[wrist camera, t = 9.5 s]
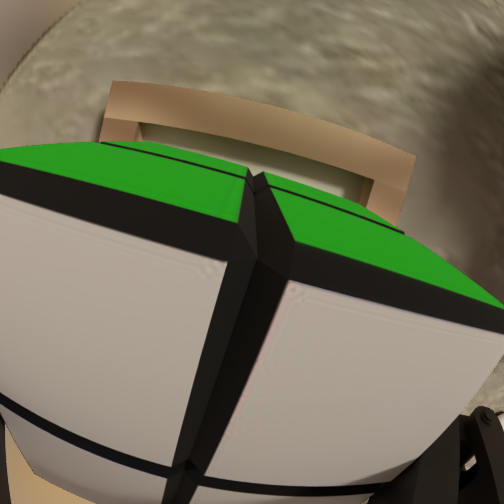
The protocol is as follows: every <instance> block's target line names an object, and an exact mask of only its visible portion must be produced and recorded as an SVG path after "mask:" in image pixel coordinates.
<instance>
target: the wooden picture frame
mask: <svg viewBox="0 0 504 504" xmlns="http://www.w3.org/2000/svg"><path fill="white" fill-rule="evenodd" d="M101 141H146V142H153V143H158V144H162V145H166V146H171V147H175V148H179V149H183V150H187V151H191V152H195V153H199V154H203V155H207V156H210V157H214V158H218V159H221V160H225V161H229V162H232V163H236V164H239V165H243V166H246V167H248V168H249V170H250V171H251V173H252V175H253V176H255V175H257V174H259V173H261V172H263V171H264V172H268V173H271V174H274V175H277V176H280V177H283V178H287V179H290V180H293V181H296V182H299V183H302V184H305V185H308V186H311V187H314V188H316V189H319V190H322V191H325V192H328V193H331V194H334V195H336V196H339V197H342V198H345V199H347V200H350V201H353V202H355V203H358V204H360V205H362V206H363V207H365V208H367V209H368V210H370V211H371V212H373V213H375V214H376V215H378V216H380V217H381V218H383V219H384V220H386V221H387V222H389V223H391V224H392V225H394V226H396V223H397V220H398V217H399V214H400V211H401V208H402V205H403V202H404V199H405V195H406V192H407V189H408V185H409V182H410V179H411V175H412V171H413V168H414V164H415V160H416V157H417V156H414V155H412V154H410V153H408V152H405V151H403V150H401V149H399V148H396V147H394V146H392V145H389V144H387V143H384V142H382V141H379V140H377V139H374V138H372V137H369V136H367V135H364V134H361V133H359V132H356V131H353V130H350V129H348V128H345V127H342V126H339V125H336V124H333V123H330V122H327V121H324V120H321V119H318V118H315V117H311V116H308V115H305V114H301V113H298V112H294V111H291V110H287V109H284V108H280V107H276V106H272V105H268V104H264V103H260V102H256V101H252V100H247V99H243V98H238V97H233V96H228V95H223V94H218V93H213V92H207V91H201V90H195V89H189V88H182V87H175V86H167V85H159V84H150V83H139V82H126V81H113V82H112V85H111V89H110V93H109V97H108V101H107V105H106V110H105V114H104V119H103V124H102V128H101V134H100V139H99V143H100V142H101Z"/></svg>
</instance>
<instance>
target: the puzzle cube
mask: <svg viewBox="0 0 504 504" xmlns="http://www.w3.org/2000/svg"><path fill="white" fill-rule="evenodd" d="M503 355H504V305H503V304H502V303H501V302H499V301H498V300H497V299H496V298H494V297H493V296H492V295H491V294H489V293H488V292H487V291H486V290H484V289H483V288H482V287H480V286H479V285H478V284H476V283H475V282H474V281H473V280H471V279H470V278H469V277H467V276H466V275H465V274H463V273H462V272H460V271H459V270H458V269H456V268H455V267H454V266H452V265H451V264H449V263H448V262H447V261H445V260H444V259H442V258H441V257H439V256H438V255H437V254H435V253H434V252H432V251H431V250H429V249H428V248H426V247H425V246H423V245H422V244H420V243H419V242H417V241H416V240H414V239H413V238H411V237H408V236H406V235H404V232H403V231H402V230H400V229H398V228H397V227H395V226H394V225H392V224H391V223H389V222H387V221H386V220H384V219H383V218H381V217H380V216H378V215H376V214H375V213H373V212H371V211H370V210H368V209H367V208H365V207H363V206H362V205H360V204H358V203H355V202H353V201H350V200H347V199H345V198H342V197H339V196H336V195H334V194H331V193H328V192H325V191H322V190H319V189H316V188H314V187H311V186H308V185H305V184H302V183H299V182H296V181H293V180H290V179H287V178H283V177H280V176H277V175H274V174H271V173H268V172H264V171H263V172H261V173H259V174H257V175H255V176H253V175H252V173H251V171H250V170H249V168H248V167H246V166H243V165H239V164H236V163H232V162H229V161H225V160H221V159H218V158H214V157H210V156H207V155H203V154H199V153H195V152H191V151H187V150H183V149H179V148H175V147H171V146H166V145H162V144H158V143H153V142H146V141H101V142H100V143H95V142H74V143H57V144H43V145H32V146H22V147H14V148H5V149H0V414H1V416H2V418H3V420H4V422H5V424H6V426H7V428H8V429H9V432H10V433H11V435H12V437H13V439H14V441H15V443H16V444H17V446H18V448H19V450H20V451H21V453H22V455H23V456H24V458H25V460H26V461H27V463H28V465H29V466H30V467H31V469H32V471H33V472H34V474H36V475H37V476H39V477H41V478H43V479H45V480H46V481H48V482H50V483H52V484H54V485H56V486H58V487H60V488H62V489H64V490H66V491H68V492H71V493H73V494H75V495H77V496H79V497H82V498H84V499H86V500H89V501H91V502H94V503H96V504H361V503H362V502H364V501H365V500H367V499H368V498H369V497H371V496H372V495H373V494H375V493H376V491H377V490H378V488H379V487H380V485H381V484H382V482H389V481H391V480H393V479H394V478H395V477H396V476H397V475H399V474H400V473H401V472H402V471H403V470H404V469H406V468H407V467H408V466H409V465H410V464H411V463H412V462H413V461H415V460H416V459H417V458H418V457H419V456H420V455H421V454H422V453H423V452H424V451H425V450H426V449H427V448H428V447H429V446H430V445H431V444H432V443H433V442H434V441H435V440H436V439H437V438H438V437H439V436H440V435H441V434H442V433H443V432H444V431H445V430H446V429H447V428H448V426H449V425H450V424H451V423H452V422H453V421H454V420H455V419H456V417H457V416H458V415H459V414H460V413H461V412H462V410H463V409H464V408H465V407H466V406H467V404H468V403H469V402H470V401H471V399H472V398H473V397H474V396H475V394H476V393H477V392H478V390H479V389H480V388H481V386H482V385H483V384H484V382H485V381H486V380H487V378H488V377H489V375H490V374H491V373H492V371H493V370H494V368H495V367H496V365H497V364H498V362H499V361H500V359H501V358H502V356H503Z"/></svg>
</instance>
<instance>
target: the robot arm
mask: <svg viewBox="0 0 504 504" xmlns="http://www.w3.org/2000/svg"><path fill="white" fill-rule="evenodd" d="M5 451H6V450H5V422H4V420H3V418H2V416H1V414H0V504H11V499H10V492H9V485H8V476H7V465H6V452H5ZM474 456H475V459H476V463H475V464H474V465H473V466H472V467H471V468H470V469H469V470H466V469H465V464H466V463H467V462H468V461H470V460H471V459H472V458H473V457H474ZM367 504H504V430H503V427H502V425H501V422H500V420H499V418H498V417H497V415H496V414H495V413H494V411H493V410H490V408H487V407H484V406H478V407H477V408H475V410H474V411H473V412H472V413H471V415H470V416H465V415H460V414H459V415H458V416H457V417H456V419H455V420H454V421H453V422H452V423H451V424H450V425H449V426H448V428H447V429H446V430H445V431H444V432H443V433H442V434H441V435H440V436H439V437H438V438H437V439H436V440H435V441H434V442H433V443H432V444H431V445H430V446H429V447H428V448H427V449H426V450H425V451H424V452H423V453H422V454H421V455H420V456H419V457H418V458H417V459H416V460H415V461H413V462H412V463H411V464H410V465H409V466H408V467H407V468H406V469H404V470H403V471H402V472H401V473H400V474H399V475H397V476H396V477H395V478H394V479H393V480H391V481H389V482H382V484H381V485H380V487H379V488H378V490H377V491H376V493H375V494H373V495H372V496H371V497H370V498H369V500H368V503H367Z"/></svg>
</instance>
